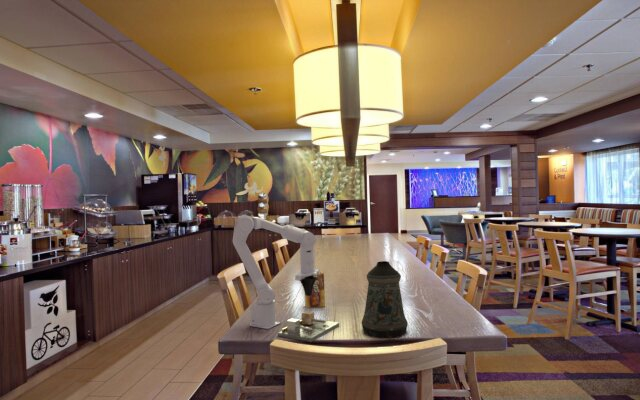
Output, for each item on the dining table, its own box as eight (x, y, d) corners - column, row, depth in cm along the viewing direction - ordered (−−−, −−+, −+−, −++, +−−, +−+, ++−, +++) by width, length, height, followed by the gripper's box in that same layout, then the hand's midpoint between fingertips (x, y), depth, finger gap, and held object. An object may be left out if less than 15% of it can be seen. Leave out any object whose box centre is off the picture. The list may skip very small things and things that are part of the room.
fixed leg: (287, 331, 154) (286, 320, 154) (292, 329, 157) (291, 318, 157) (309, 335, 149) (308, 324, 149) (314, 333, 152) (313, 321, 152)
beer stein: (367, 340, 146) (364, 267, 145) (356, 323, 165) (354, 259, 165) (414, 337, 147) (411, 265, 147) (398, 320, 167) (396, 257, 166)
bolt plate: (278, 335, 153) (277, 329, 153) (309, 320, 170) (308, 315, 170) (310, 342, 146) (310, 335, 146) (339, 325, 163) (339, 320, 163)
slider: (301, 323, 162) (301, 313, 162) (306, 321, 165) (306, 311, 165) (323, 327, 157) (323, 316, 157) (327, 324, 160) (327, 314, 160)
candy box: (324, 304, 195) (323, 271, 195) (325, 306, 191) (324, 272, 191) (305, 305, 194) (303, 272, 194) (305, 308, 190) (304, 273, 190)
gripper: (305, 264, 162) (306, 300, 162) (325, 259, 174) (326, 292, 174) (290, 263, 166) (291, 298, 166) (311, 258, 178) (312, 290, 178)
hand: (308, 295), depth 170 cm, fingers closed
